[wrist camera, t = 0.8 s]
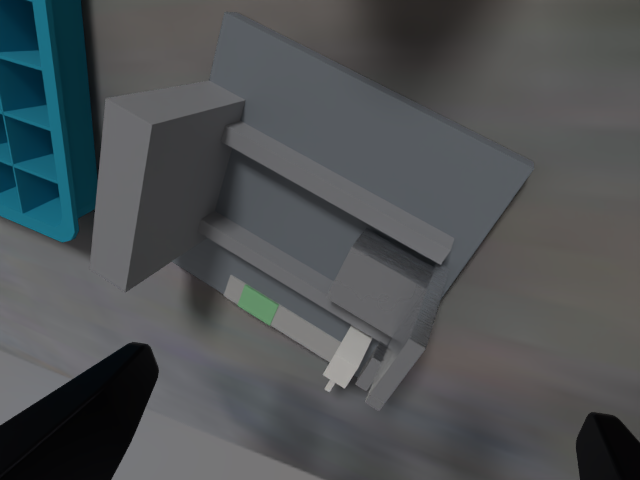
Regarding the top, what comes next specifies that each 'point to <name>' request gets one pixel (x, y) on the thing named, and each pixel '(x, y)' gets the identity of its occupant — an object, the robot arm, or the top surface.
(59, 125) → the ice cube tray
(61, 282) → the top surface
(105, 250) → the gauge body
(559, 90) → the top surface
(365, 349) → the stamp-shaped block
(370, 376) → the dark grey angled block
